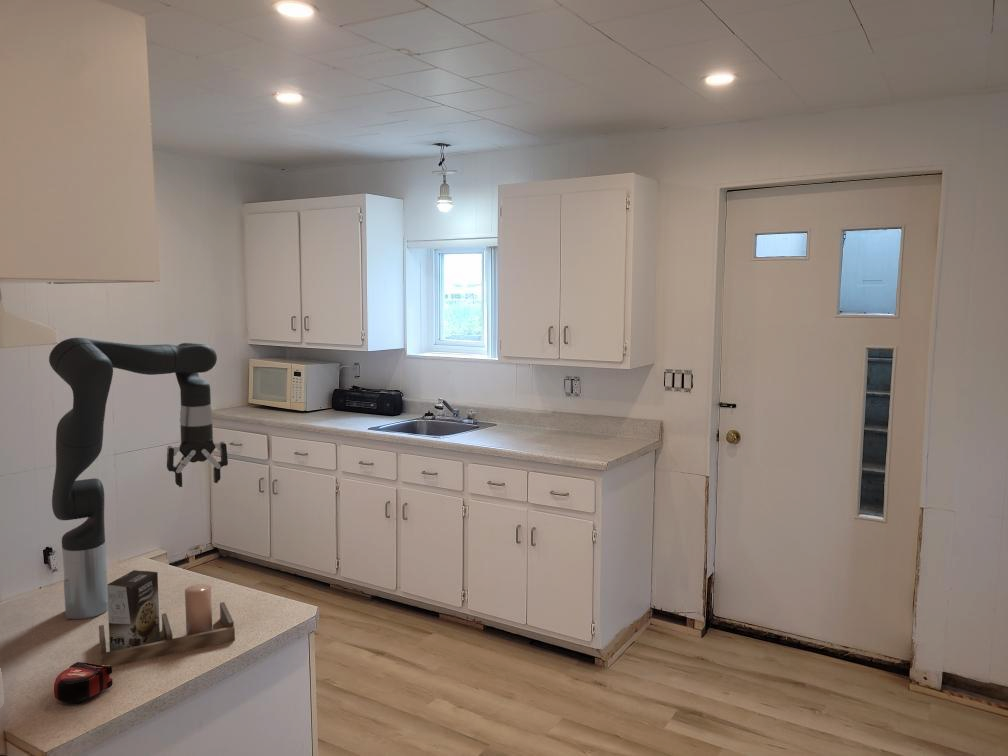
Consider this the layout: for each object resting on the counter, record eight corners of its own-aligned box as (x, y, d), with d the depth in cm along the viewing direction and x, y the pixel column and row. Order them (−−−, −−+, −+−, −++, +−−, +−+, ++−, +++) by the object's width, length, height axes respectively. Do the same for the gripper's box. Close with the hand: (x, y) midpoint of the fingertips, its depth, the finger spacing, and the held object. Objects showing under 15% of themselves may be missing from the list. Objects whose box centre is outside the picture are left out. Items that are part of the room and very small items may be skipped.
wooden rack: (101, 668, 158) (101, 650, 157) (99, 642, 169) (98, 625, 169) (234, 640, 171) (234, 623, 171) (224, 617, 183) (224, 602, 182)
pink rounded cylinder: (188, 641, 170) (186, 595, 169) (185, 631, 175) (183, 586, 174) (214, 636, 173) (212, 591, 172) (210, 626, 178) (208, 582, 177)
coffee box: (134, 657, 163) (131, 587, 161) (108, 654, 164) (105, 584, 162) (161, 638, 172) (158, 571, 170) (136, 635, 173) (133, 568, 171)
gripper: (167, 427, 181) (170, 491, 184) (229, 422, 189) (230, 484, 191) (163, 421, 188) (166, 484, 190) (223, 417, 195) (224, 477, 197)
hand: (198, 484), depth 190 cm, fingers open, 8 cm apart
